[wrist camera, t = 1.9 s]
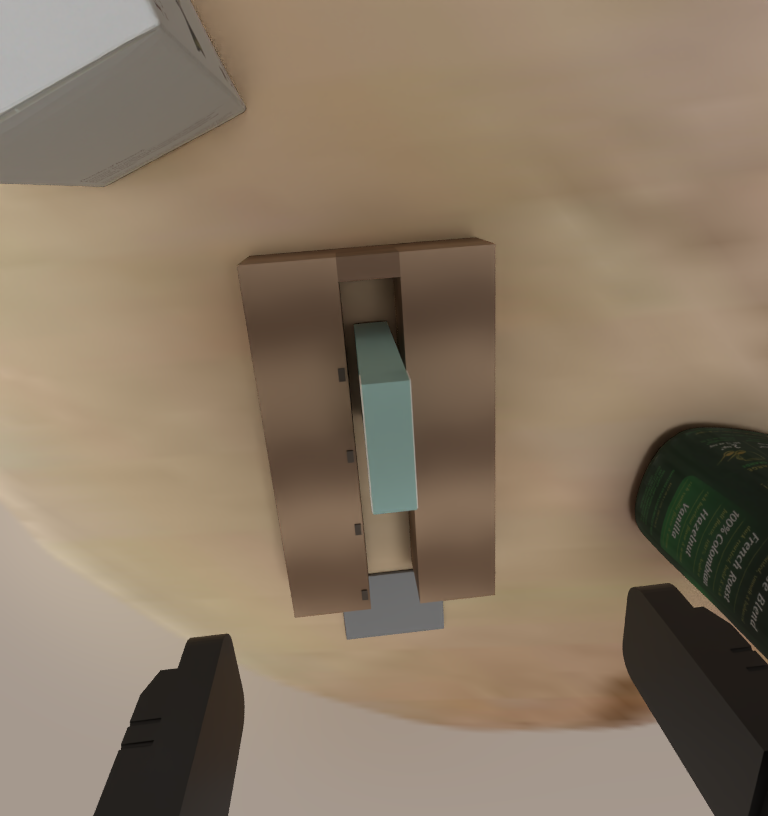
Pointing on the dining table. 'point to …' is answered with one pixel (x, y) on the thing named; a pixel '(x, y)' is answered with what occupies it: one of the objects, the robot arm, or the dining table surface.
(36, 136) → the supplement box
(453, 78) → the dining table surface
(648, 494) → the coffee jar
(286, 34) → the dining table surface
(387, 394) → the stub
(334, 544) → the wooden slotted block
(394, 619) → the mat
